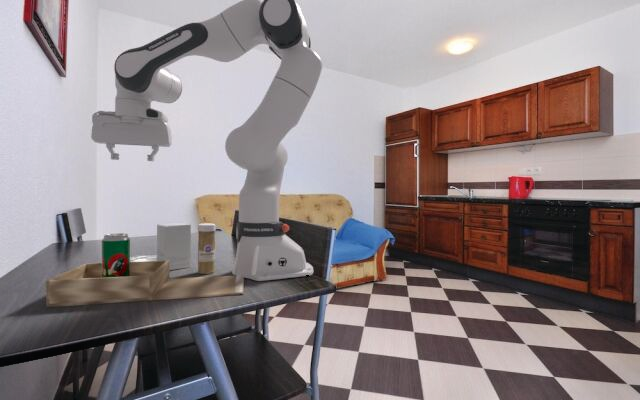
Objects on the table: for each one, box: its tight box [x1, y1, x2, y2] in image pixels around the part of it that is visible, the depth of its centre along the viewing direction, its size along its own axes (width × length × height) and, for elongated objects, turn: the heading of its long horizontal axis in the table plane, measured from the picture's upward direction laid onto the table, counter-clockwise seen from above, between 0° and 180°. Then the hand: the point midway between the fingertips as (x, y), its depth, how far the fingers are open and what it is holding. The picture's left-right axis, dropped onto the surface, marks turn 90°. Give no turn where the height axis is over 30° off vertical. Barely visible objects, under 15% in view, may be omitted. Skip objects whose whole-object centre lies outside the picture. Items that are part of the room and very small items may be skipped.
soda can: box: [101, 232, 131, 278], centre depth 64 cm, size 5×5×12 cm
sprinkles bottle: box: [197, 222, 217, 275], centre depth 81 cm, size 5×5×13 cm
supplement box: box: [156, 222, 192, 271], centre depth 86 cm, size 7×7×13 cm
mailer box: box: [45, 260, 245, 308], centre depth 67 cm, size 36×14×5 cm, turn 104°
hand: (133, 160), depth 87 cm, fingers open, 8 cm apart
